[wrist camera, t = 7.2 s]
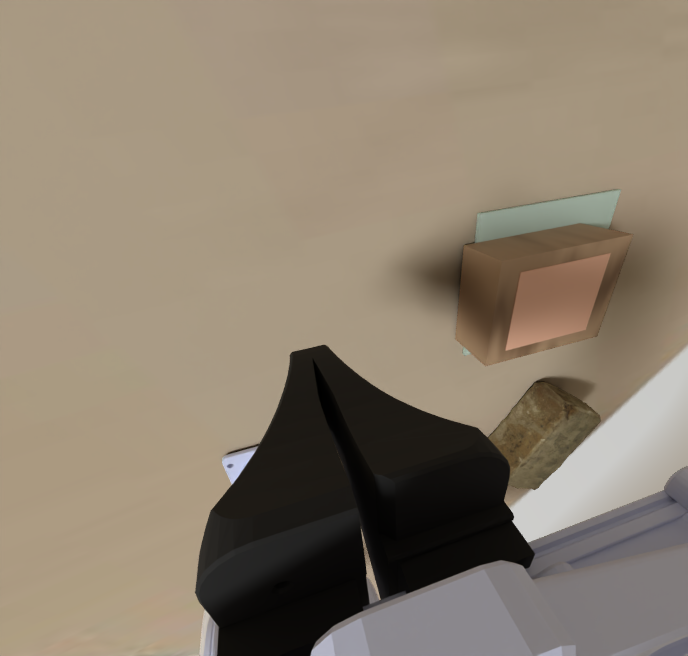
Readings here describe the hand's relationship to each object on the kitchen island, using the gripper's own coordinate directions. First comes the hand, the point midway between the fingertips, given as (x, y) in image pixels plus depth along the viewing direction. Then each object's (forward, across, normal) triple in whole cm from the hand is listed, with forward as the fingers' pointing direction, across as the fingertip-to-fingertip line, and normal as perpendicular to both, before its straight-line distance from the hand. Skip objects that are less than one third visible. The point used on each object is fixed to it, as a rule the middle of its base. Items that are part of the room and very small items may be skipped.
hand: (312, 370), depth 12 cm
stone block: (+11, -22, +22) cm, 33 cm away
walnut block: (+8, -13, +4) cm, 16 cm away
